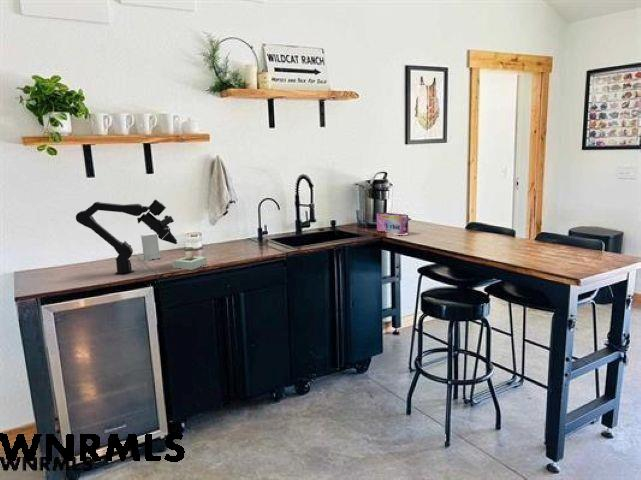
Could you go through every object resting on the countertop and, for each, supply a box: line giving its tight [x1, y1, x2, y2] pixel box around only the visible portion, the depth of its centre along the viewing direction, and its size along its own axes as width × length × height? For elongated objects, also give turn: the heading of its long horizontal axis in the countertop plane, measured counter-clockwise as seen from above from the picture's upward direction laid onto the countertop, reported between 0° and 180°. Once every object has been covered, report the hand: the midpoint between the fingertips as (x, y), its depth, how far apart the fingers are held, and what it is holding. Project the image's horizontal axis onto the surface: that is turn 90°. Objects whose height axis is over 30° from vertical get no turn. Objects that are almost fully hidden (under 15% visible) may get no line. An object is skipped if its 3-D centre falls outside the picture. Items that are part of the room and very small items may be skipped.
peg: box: [184, 246, 195, 261], centre depth 257 cm, size 4×4×10 cm
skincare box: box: [140, 232, 161, 261], centre depth 279 cm, size 8×6×15 cm
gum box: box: [376, 212, 409, 234], centre depth 330 cm, size 24×8×14 cm, turn 38°
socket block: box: [172, 256, 208, 271], centre depth 257 cm, size 12×12×4 cm
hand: (176, 242), depth 254 cm, fingers open, 9 cm apart
